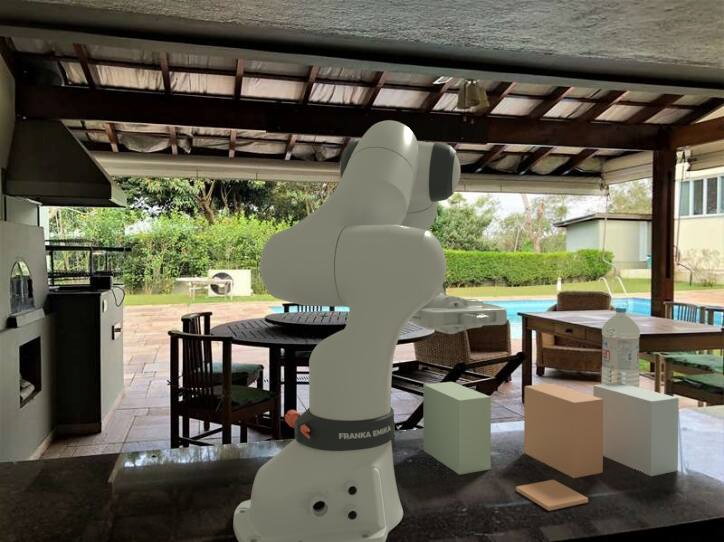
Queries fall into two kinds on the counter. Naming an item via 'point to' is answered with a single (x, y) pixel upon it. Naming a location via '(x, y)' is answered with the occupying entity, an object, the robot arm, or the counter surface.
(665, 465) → the blue-grey block
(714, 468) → the counter surface
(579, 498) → the tile
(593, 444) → the terracotta block
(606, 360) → the water bottle
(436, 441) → the sage block
